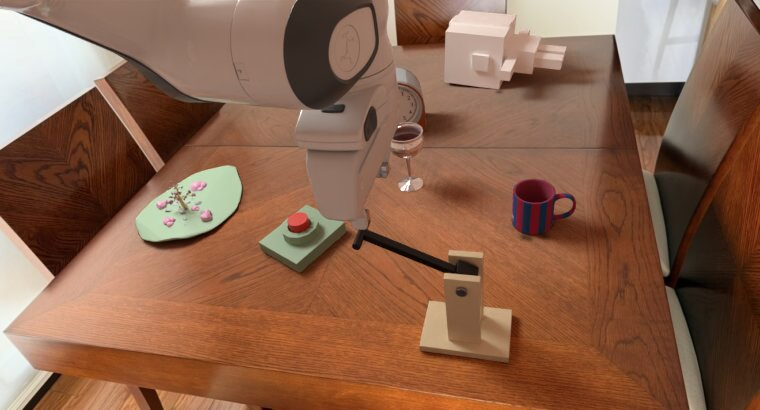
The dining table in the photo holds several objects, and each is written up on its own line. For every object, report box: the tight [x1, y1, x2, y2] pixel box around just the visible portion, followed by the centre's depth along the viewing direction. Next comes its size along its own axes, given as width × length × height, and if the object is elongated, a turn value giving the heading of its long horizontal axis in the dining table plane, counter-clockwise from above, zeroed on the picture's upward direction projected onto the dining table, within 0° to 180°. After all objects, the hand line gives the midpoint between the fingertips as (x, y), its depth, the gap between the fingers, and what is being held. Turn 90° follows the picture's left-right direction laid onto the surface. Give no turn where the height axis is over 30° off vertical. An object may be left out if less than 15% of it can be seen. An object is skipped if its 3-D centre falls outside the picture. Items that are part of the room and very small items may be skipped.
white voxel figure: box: [443, 9, 567, 90], centre depth 124 cm, size 15×25×28 cm
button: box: [287, 212, 310, 233], centre depth 87 cm, size 4×4×2 cm
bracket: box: [418, 249, 513, 364], centre depth 67 cm, size 12×8×14 cm, turn 76°
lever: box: [351, 219, 479, 276], centre depth 63 cm, size 16×5×2 cm, turn 76°
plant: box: [134, 164, 243, 243], centre depth 101 cm, size 25×21×9 cm
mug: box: [511, 178, 577, 236], centre depth 83 cm, size 7×10×7 cm
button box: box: [258, 204, 347, 274], centre depth 89 cm, size 12×10×4 cm
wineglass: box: [390, 122, 425, 193], centre depth 95 cm, size 7×7×12 cm
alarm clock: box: [396, 66, 428, 132], centre depth 112 cm, size 15×8×14 cm, turn 92°
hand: (372, 198), depth 58 cm, fingers open, 8 cm apart
